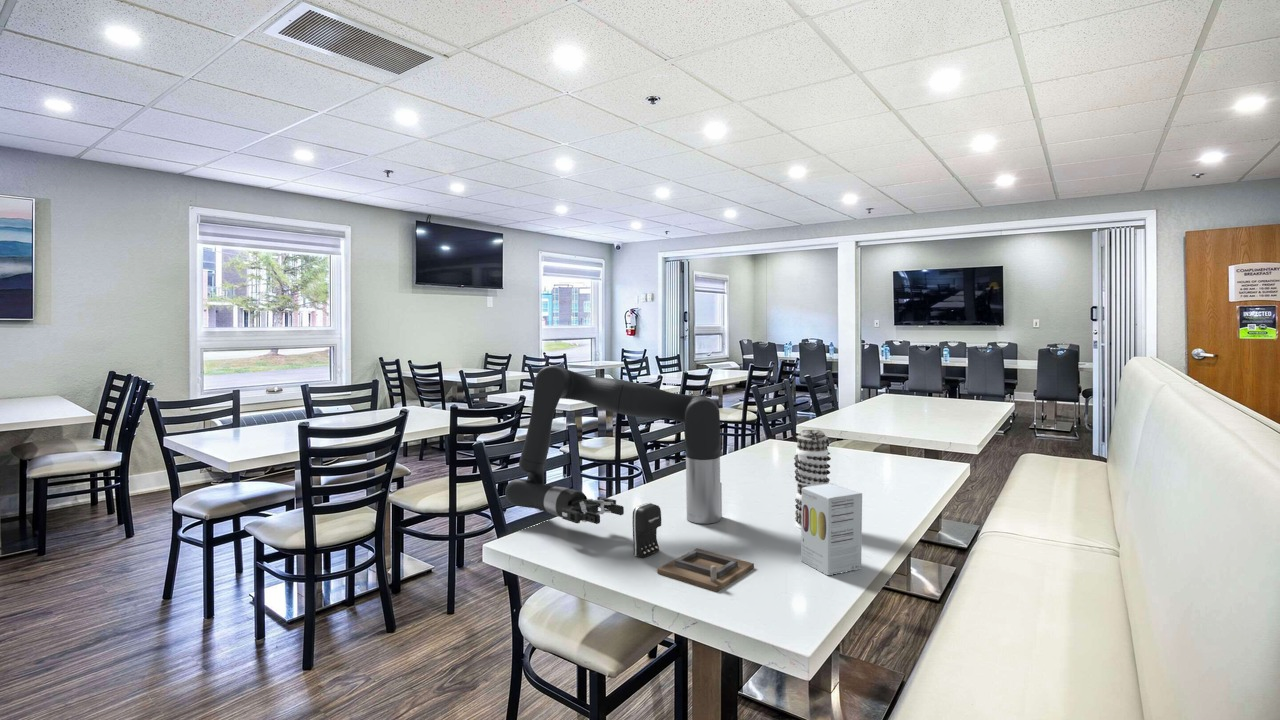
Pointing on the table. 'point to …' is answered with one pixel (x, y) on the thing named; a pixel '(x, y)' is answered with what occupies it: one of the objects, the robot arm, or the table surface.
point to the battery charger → (646, 529)
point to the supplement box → (831, 528)
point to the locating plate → (706, 569)
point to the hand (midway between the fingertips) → (611, 515)
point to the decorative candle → (810, 464)
